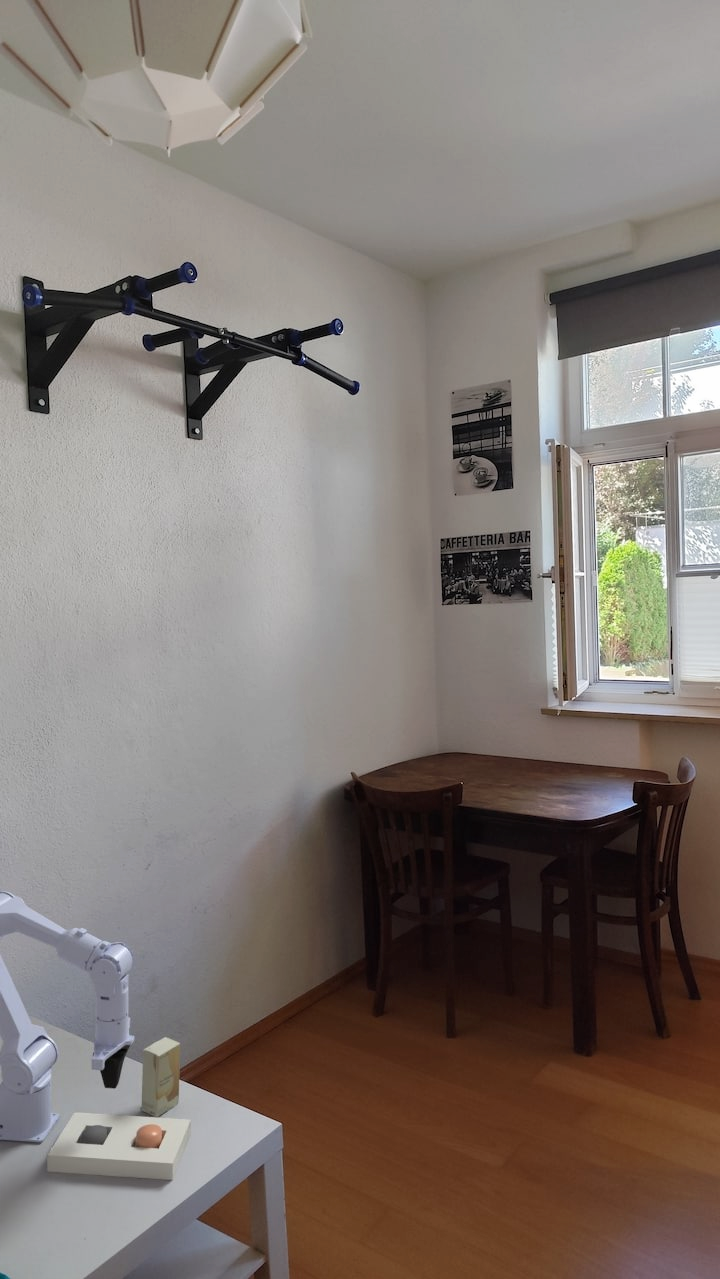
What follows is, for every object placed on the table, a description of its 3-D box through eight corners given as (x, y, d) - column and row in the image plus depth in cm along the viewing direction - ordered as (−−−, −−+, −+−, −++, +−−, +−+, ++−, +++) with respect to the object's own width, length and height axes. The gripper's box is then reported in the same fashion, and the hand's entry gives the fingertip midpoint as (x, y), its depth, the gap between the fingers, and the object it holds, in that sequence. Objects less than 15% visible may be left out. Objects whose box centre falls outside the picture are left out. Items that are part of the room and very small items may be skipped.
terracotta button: (132, 1155, 151) (133, 1139, 151) (140, 1139, 155) (140, 1123, 155) (157, 1157, 150) (157, 1140, 150) (164, 1141, 155) (164, 1125, 155)
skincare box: (156, 1118, 163) (157, 1057, 162) (140, 1110, 165) (141, 1049, 165) (180, 1102, 169) (181, 1042, 168) (164, 1094, 171) (165, 1035, 170)
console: (47, 1171, 148) (47, 1154, 148) (74, 1127, 160) (74, 1112, 160) (172, 1180, 147) (172, 1163, 146) (190, 1135, 159) (190, 1119, 158)
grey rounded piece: (77, 1156, 151) (77, 1140, 151) (86, 1140, 156) (86, 1124, 156) (101, 1157, 151) (101, 1141, 151) (110, 1141, 156) (110, 1125, 155)
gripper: (120, 1036, 147) (119, 1111, 148) (146, 995, 162) (145, 1065, 163) (79, 1033, 148) (79, 1109, 149) (109, 993, 162) (109, 1062, 163)
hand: (111, 1086), depth 156 cm, fingers closed
